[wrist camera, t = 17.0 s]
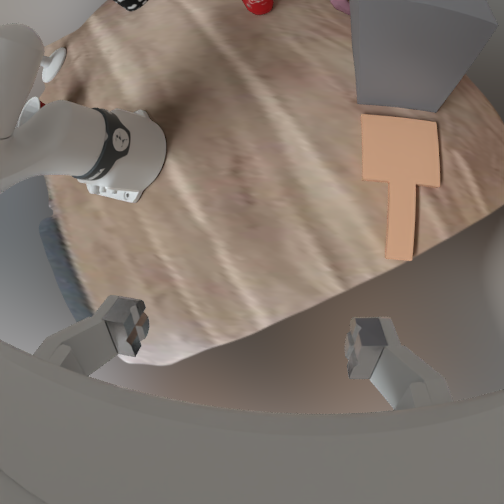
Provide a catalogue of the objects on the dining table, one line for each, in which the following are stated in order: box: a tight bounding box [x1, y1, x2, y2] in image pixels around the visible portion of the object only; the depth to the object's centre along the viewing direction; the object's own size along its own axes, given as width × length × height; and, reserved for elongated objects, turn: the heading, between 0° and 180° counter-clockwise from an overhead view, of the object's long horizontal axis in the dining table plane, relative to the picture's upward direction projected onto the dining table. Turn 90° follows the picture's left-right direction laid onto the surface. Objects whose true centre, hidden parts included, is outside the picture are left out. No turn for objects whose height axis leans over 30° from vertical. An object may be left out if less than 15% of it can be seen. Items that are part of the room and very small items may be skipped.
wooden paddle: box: [361, 114, 440, 261], centre depth 37 cm, size 12×21×2 cm, turn 177°
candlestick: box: [40, 47, 66, 83], centre depth 46 cm, size 13×13×30 cm
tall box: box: [349, 0, 498, 113], centre depth 23 cm, size 13×12×25 cm
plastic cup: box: [18, 97, 45, 127], centre depth 53 cm, size 11×11×12 cm
